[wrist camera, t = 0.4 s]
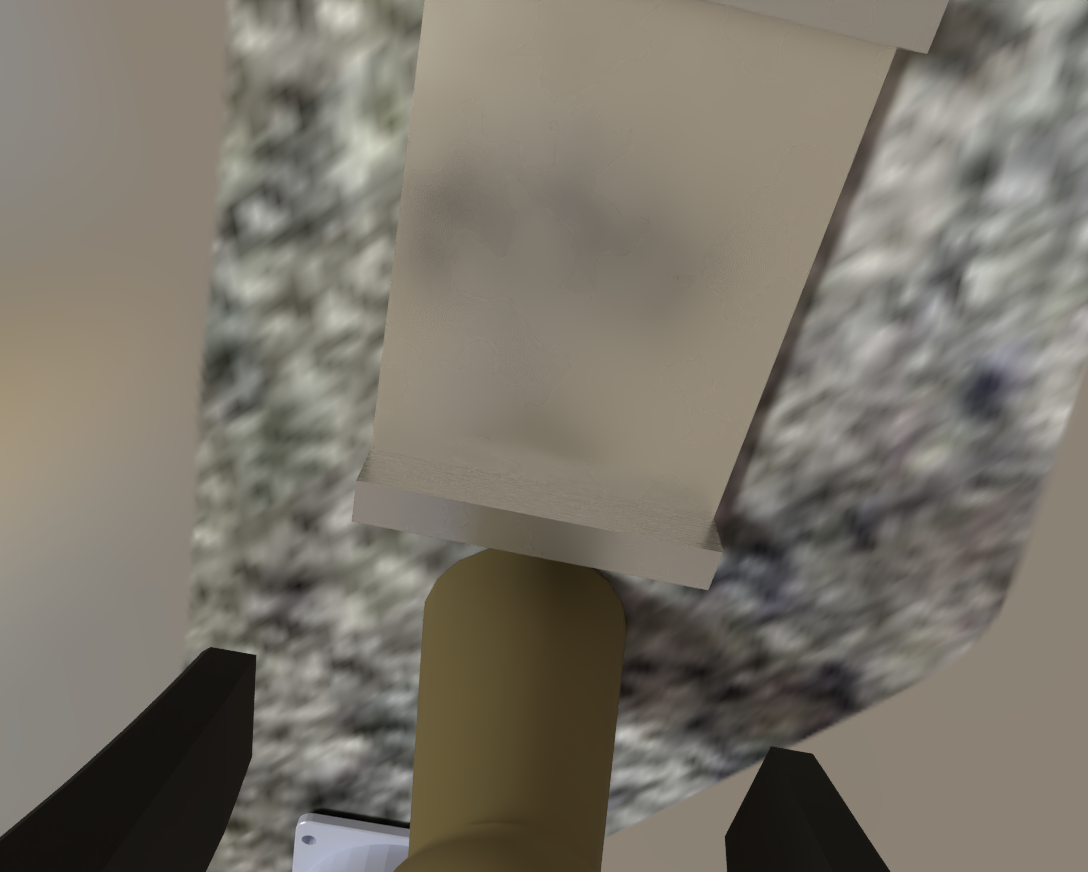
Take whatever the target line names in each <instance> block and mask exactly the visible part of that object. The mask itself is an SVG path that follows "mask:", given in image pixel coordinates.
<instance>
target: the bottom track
mask: <svg viewBox="0 0 1088 872" xmlns="http://www.w3.org/2000/svg"><path fill="white" fill-rule="evenodd" d="M948 2H949V0H425V4H424V12H423V20H422V29H421V37H420V45H419V54H418V62H417V70H416V79H415V87H414V95H413V103H412V112H411V120H410V128H409V137H408V145H407V153H406V162H405V170H404V178H403V187H402V195H401V203H400V212H399V220H398V228H397V237H396V245H395V253H394V262H393V270H392V278H391V287H390V295H389V303H388V312H387V320H386V328H385V337H384V345H383V353H382V361H381V370H380V378H379V386H378V395H377V403H376V411H375V420H374V428H373V436H372V445H371V450H370V452H369V454H368V456H367V459H366V461H365V463H364V465H363V467H362V470H361V472H360V474H359V476H358V478H357V480H356V488H355V497H354V506H353V515H352V521H353V522H358V523H363V524H368V525H373V526H379V527H384V528H389V529H394V530H399V531H404V532H410V533H415V534H420V535H425V536H430V537H436V538H441V539H446V540H451V541H456V542H461V543H467V544H472V545H477V546H482V547H487V548H492V549H498V550H503V551H508V552H513V553H518V554H524V555H529V556H534V557H539V558H544V559H549V560H555V561H560V562H565V563H570V564H575V565H580V566H586V567H591V568H596V569H601V570H606V571H612V572H617V573H622V574H627V575H632V576H637V577H643V578H648V579H653V580H658V581H663V582H668V583H674V584H679V585H684V586H689V587H694V588H700V589H705V590H708V589H709V587H710V584H711V582H712V579H713V577H714V574H715V572H716V570H717V567H718V565H719V562H720V560H721V557H722V555H723V550H722V546H721V542H720V539H719V535H718V531H717V527H716V523H715V520H714V516H715V513H716V511H717V508H718V506H719V503H720V501H721V498H722V496H723V493H724V490H725V488H726V485H727V483H728V480H729V478H730V475H731V472H732V470H733V467H734V465H735V462H736V460H737V457H738V455H739V452H740V449H741V447H742V444H743V442H744V439H745V437H746V434H747V431H748V429H749V426H750V424H751V421H752V419H753V416H754V414H755V411H756V408H757V406H758V403H759V401H760V398H761V396H762V393H763V390H764V388H765V385H766V383H767V380H768V378H769V375H770V373H771V370H772V367H773V365H774V362H775V360H776V357H777V355H778V352H779V350H780V347H781V344H782V342H783V339H784V337H785V334H786V332H787V329H788V326H789V324H790V321H791V319H792V316H793V314H794V311H795V309H796V306H797V303H798V301H799V298H800V296H801V293H802V291H803V288H804V285H805V283H806V280H807V278H808V275H809V273H810V270H811V268H812V265H813V262H814V260H815V257H816V255H817V252H818V250H819V247H820V244H821V242H822V239H823V237H824V234H825V232H826V229H827V227H828V224H829V221H830V219H831V216H832V214H833V211H834V209H835V206H836V204H837V201H838V198H839V196H840V193H841V191H842V188H843V186H844V183H845V180H846V178H847V175H848V173H849V170H850V168H851V165H852V163H853V160H854V157H855V155H856V152H857V150H858V147H859V145H860V142H861V139H862V137H863V134H864V132H865V129H866V127H867V124H868V122H869V119H870V116H871V114H872V111H873V109H874V106H875V104H876V101H877V98H878V96H879V93H880V91H881V88H882V86H883V83H884V81H885V78H886V75H887V73H888V70H889V68H890V65H891V63H892V60H893V58H894V55H895V52H896V50H897V49H899V50H905V51H912V52H918V53H925V54H927V53H928V51H929V48H930V46H931V44H932V41H933V39H934V36H935V34H936V31H937V29H938V26H939V24H940V22H941V19H942V17H943V14H944V12H945V9H946V7H947V4H948Z"/></svg>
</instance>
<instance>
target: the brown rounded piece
mask: <svg viewBox="0 0 1088 872" xmlns="http://www.w3.org/2000/svg"><path fill="white" fill-rule="evenodd" d="M626 630H627V628H626V622H625V616H624V610H623V604H622V602H621V601H620V599H619V598H618V596H617V594H616V593H615V591H614V590H613V588H612V586H611V585H610V583H609V581H607V580H606V579H605V578H604V577H603V576H601V575H600V574H599V573H598V572H596V571H595V570H594V569H593V568H591V567H586V566H580V565H575V564H570V563H565V562H560V561H555V560H549V559H544V558H539V557H534V556H529V555H524V554H518V553H513V552H508V551H503V550H498V549H487V550H484V551H482V552H479V553H477V554H474V555H472V556H470V557H467V558H465V559H462V560H460V561H458V562H457V563H456V564H455V565H453V566H452V567H451V568H450V569H449V570H448V571H446V572H445V573H444V574H443V575H442V576H440V577H439V578H438V579H437V581H436V582H435V584H434V586H433V588H432V590H431V592H430V593H429V595H428V597H427V599H426V601H425V607H424V619H423V632H422V648H421V663H420V679H419V694H418V710H417V726H416V741H415V757H414V773H413V788H412V804H411V819H410V835H409V851H408V858H406V859H405V860H404V861H403V862H402V863H401V864H400V865H399V866H398V867H397V868H396V869H395V870H394V872H601V862H602V853H603V844H604V835H605V826H606V816H607V807H608V798H609V788H610V779H611V770H612V760H613V751H614V742H615V733H616V723H617V714H618V705H619V695H620V686H621V677H622V667H623V658H624V649H625V639H626Z"/></svg>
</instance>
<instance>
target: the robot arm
mask: <svg viewBox="0 0 1088 872" xmlns="http://www.w3.org/2000/svg"><path fill="white" fill-rule="evenodd" d="M255 672H256V655H253V654H247V653H241V652H236V651H230V650H224V649H219V648H213V647H210V648H208V649H206V650H205V651H203V652H201V654H200V655H199V656H198V657H197V658H196V659H195V660H194V661H193V662H192V663H191V664H190V665H189V666H188V667H187V668H186V669H185V670H184V671H183V672H182V673H181V674H180V675H179V676H178V677H177V678H176V679H175V680H174V681H173V683H171V684H170V685H169V686H168V687H167V688H166V690H164V691H163V692H162V693H161V694H160V695H159V696H158V697H157V698H156V699H155V700H154V701H153V702H152V703H151V704H150V705H149V706H148V707H147V708H146V709H145V710H144V711H143V712H142V713H141V714H140V715H139V716H138V717H137V718H136V719H135V720H134V721H133V722H132V723H130V724H129V725H128V726H127V727H126V728H125V729H124V730H123V731H122V732H121V733H120V734H119V735H118V736H116V737H115V738H114V739H113V740H112V741H111V742H110V743H109V744H108V745H107V746H105V747H104V748H103V749H102V750H101V751H100V752H99V753H98V754H97V755H96V756H94V757H93V758H92V759H91V760H90V761H89V762H88V763H87V764H86V765H85V766H83V768H81V769H80V770H79V771H78V772H77V773H76V774H75V775H74V776H72V777H71V778H70V779H69V780H68V781H67V782H66V783H64V784H63V785H62V786H61V787H60V788H59V789H57V790H56V791H55V792H54V793H53V794H52V795H50V796H49V797H48V798H47V799H45V800H44V801H43V802H42V803H41V804H39V805H38V806H37V807H36V808H35V809H34V810H32V811H31V812H30V813H29V814H27V815H26V816H25V817H24V818H23V819H21V820H20V821H19V822H18V823H17V824H15V825H14V826H13V827H12V828H11V829H9V830H8V831H7V832H6V833H5V834H3V835H2V836H1V837H0V872H206V870H207V868H208V866H209V864H210V862H211V860H212V858H213V855H214V853H215V851H216V849H217V847H218V845H219V843H220V841H221V839H222V836H223V834H224V832H225V829H226V827H227V824H228V821H229V819H230V816H231V813H232V810H233V808H234V805H235V802H236V800H237V797H238V794H239V791H240V789H241V786H242V783H243V780H244V777H245V775H246V772H247V769H248V766H249V763H250V761H251V758H252V742H253V719H254V695H255ZM409 835H410V829H406V828H400V827H394V826H388V825H382V824H376V823H370V822H364V821H358V820H352V819H346V818H340V817H334V816H328V815H322V814H316V813H307V814H303V815H302V816H301V817H300V818H299V821H298V824H297V827H296V835H295V846H294V857H293V868H292V872H394V870H395V869H396V868H397V867H398V866H399V865H400V864H401V863H402V862H403V861H404V860H405V859H406V858H408V851H409ZM725 845H726V861H727V872H890V870H889V869H888V867H887V866H886V864H885V863H884V861H883V860H882V859H881V857H880V856H879V854H878V852H877V851H876V849H875V848H874V846H873V845H872V843H871V842H870V840H869V839H868V838H867V836H866V834H865V833H864V831H863V830H862V828H861V827H860V825H859V824H858V822H857V821H856V819H855V818H854V816H853V814H852V813H851V811H850V810H849V808H848V807H847V805H846V804H845V802H844V801H843V799H842V798H841V796H840V795H839V793H838V791H837V790H836V788H835V787H834V785H833V784H832V782H831V781H830V779H829V778H828V776H827V774H826V773H825V771H824V770H823V768H822V767H821V765H820V764H819V763H818V761H817V760H816V758H815V756H814V755H813V754H811V753H805V752H799V751H794V750H788V749H783V748H777V747H771V748H770V750H769V752H768V754H767V755H766V757H765V759H764V761H763V763H762V765H761V767H760V769H759V771H758V773H757V775H756V777H755V779H754V781H753V783H752V785H751V787H750V789H749V791H748V793H747V795H746V797H745V798H744V800H743V802H742V804H741V806H740V808H739V810H738V812H737V814H736V816H735V818H734V820H733V822H732V824H731V826H730V828H729V830H728V831H727V834H726V835H725Z"/></svg>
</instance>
